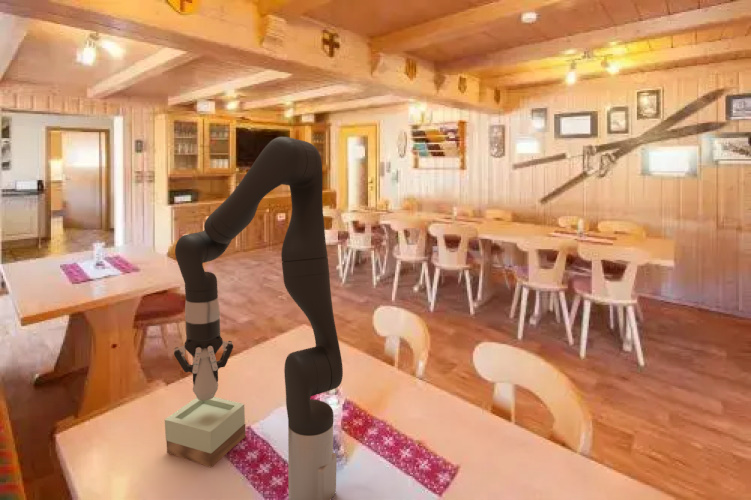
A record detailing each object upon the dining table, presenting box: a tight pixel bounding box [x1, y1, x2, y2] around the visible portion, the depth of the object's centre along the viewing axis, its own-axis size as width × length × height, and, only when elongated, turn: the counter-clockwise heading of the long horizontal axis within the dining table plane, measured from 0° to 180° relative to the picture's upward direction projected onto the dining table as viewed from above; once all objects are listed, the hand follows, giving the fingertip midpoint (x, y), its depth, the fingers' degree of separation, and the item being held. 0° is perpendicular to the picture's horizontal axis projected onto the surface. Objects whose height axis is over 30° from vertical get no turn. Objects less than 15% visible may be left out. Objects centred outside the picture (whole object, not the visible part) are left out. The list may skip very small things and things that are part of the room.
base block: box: [165, 423, 247, 468], centre depth 115 cm, size 13×13×4 cm
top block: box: [164, 396, 246, 453], centre depth 114 cm, size 13×13×6 cm
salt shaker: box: [192, 348, 219, 401], centre depth 111 cm, size 6×6×13 cm
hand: (205, 384), depth 112 cm, fingers closed on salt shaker, 3 cm apart
